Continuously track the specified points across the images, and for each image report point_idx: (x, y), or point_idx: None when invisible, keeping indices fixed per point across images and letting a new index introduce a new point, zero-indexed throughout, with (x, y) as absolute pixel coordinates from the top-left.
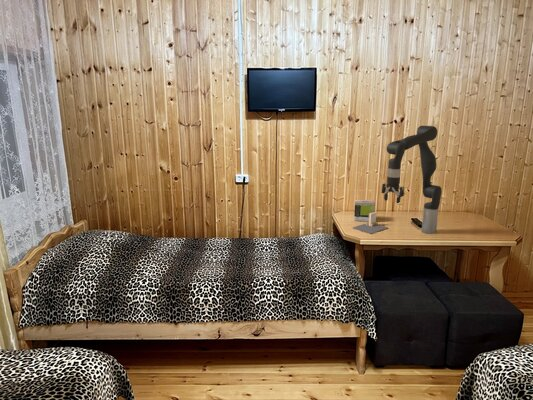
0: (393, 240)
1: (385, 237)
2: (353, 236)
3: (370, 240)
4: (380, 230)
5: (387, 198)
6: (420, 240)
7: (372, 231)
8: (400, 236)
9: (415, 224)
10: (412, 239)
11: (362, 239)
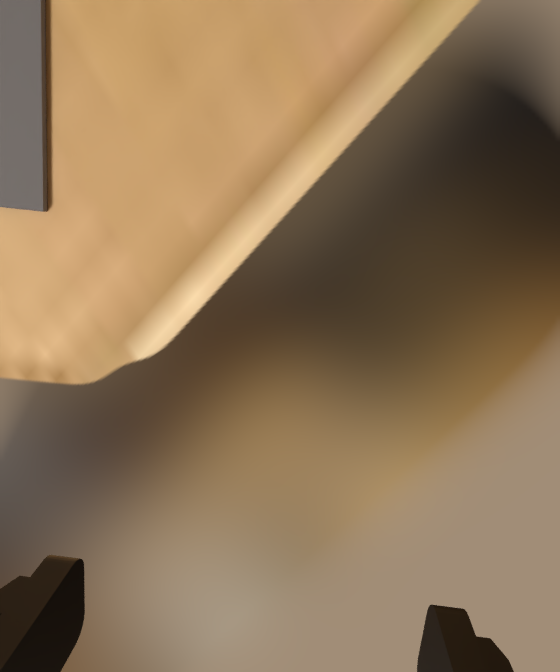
0: (275, 210)
1: (185, 191)
2: (3, 369)
3: (147, 353)
4: (43, 51)
5: (59, 592)
6: (457, 7)
7: (21, 151)
8: (263, 51)
9: None
10: (387, 43)
11: (92, 378)
